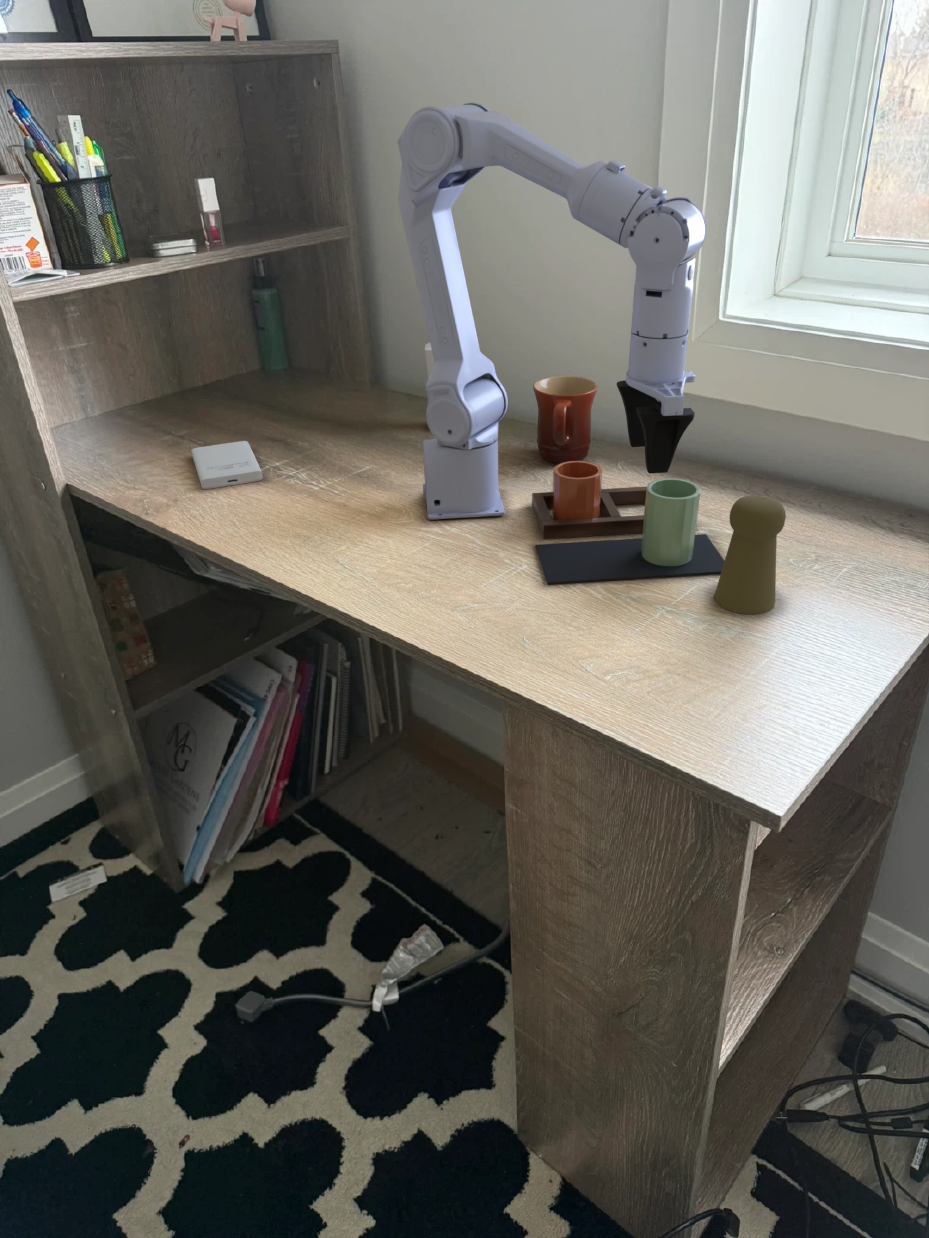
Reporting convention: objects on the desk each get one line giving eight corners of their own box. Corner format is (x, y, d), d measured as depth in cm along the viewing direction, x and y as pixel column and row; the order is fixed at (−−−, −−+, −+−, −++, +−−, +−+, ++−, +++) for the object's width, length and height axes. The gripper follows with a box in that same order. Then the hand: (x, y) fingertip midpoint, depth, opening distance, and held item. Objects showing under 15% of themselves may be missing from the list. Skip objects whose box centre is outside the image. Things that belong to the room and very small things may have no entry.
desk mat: (547, 584, 96) (547, 582, 95) (535, 546, 103) (535, 544, 103) (731, 573, 97) (731, 570, 97) (705, 536, 104) (706, 534, 104)
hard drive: (249, 450, 132) (263, 480, 122) (192, 459, 130) (202, 490, 120) (247, 440, 132) (261, 469, 122) (190, 448, 129) (199, 478, 119)
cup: (648, 568, 98) (654, 500, 93) (635, 545, 102) (641, 479, 98) (698, 565, 98) (707, 497, 94) (684, 542, 103) (691, 476, 98)
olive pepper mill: (739, 619, 89) (755, 518, 83) (702, 592, 93) (714, 494, 88) (787, 605, 91) (806, 506, 85) (749, 579, 95) (764, 483, 90)
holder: (543, 539, 105) (543, 525, 104) (531, 506, 113) (532, 492, 112) (691, 530, 106) (692, 516, 105) (669, 498, 114) (670, 484, 113)
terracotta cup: (556, 531, 107) (558, 480, 103) (549, 511, 111) (550, 462, 108) (603, 528, 107) (606, 477, 103) (593, 508, 112) (596, 459, 108)
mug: (536, 444, 131) (537, 374, 126) (596, 447, 130) (600, 376, 124) (524, 476, 121) (525, 402, 116) (589, 479, 120) (593, 404, 114)
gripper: (721, 349, 85) (704, 482, 92) (678, 313, 97) (666, 433, 104) (647, 352, 85) (636, 486, 92) (614, 316, 97) (606, 436, 104)
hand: (648, 458), depth 98 cm, fingers open, 7 cm apart
